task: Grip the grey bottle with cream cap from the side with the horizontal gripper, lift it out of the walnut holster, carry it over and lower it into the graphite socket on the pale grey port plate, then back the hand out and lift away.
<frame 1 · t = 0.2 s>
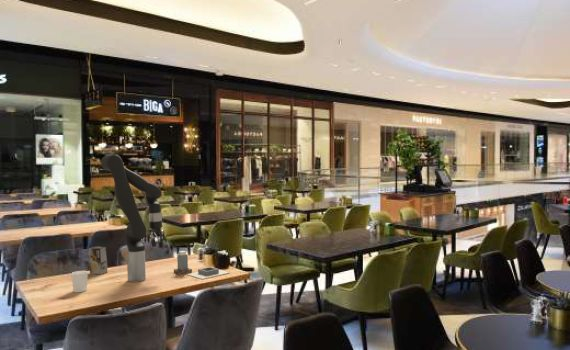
hand: (157, 246, 282), 17 cm above the table, tool pointing down, fingers open, 8 cm apart
white cup: (80, 291, 253), on the table
coffee box: (98, 273, 294), on the table
port: (208, 274, 284), on the table
grey bottle: (182, 262, 290), in the holster
holster: (182, 272, 290), on the table
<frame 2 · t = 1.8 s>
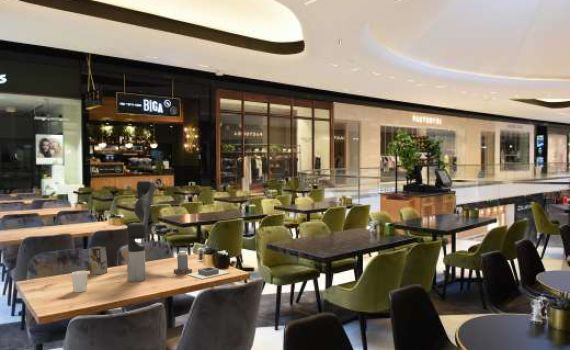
hand: (172, 232, 297), 24 cm above the table, tool horizontal, fingers open, 8 cm apart
nothing on the table moved.
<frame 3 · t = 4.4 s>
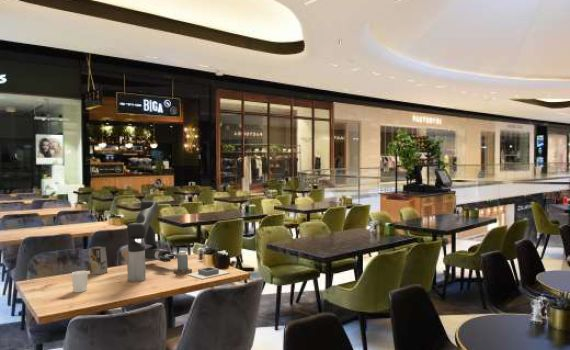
hand: (176, 258, 295), 8 cm above the table, tool horizontal, fingers open, 8 cm apart
nothing on the table moved.
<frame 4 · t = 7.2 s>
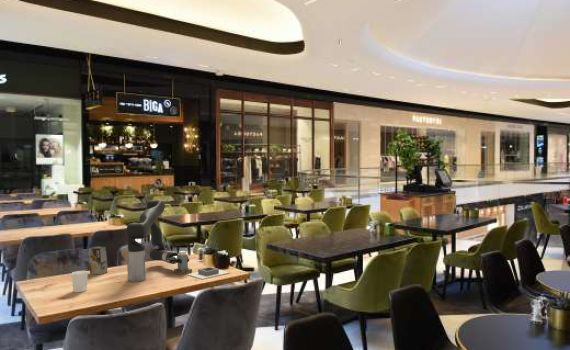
hand: (184, 260, 288), 8 cm above the table, tool horizontal, fingers closed on grey bottle, 4 cm apart
grey bottle: (182, 261, 290), in the holster, touching gripper
everything else where it was.
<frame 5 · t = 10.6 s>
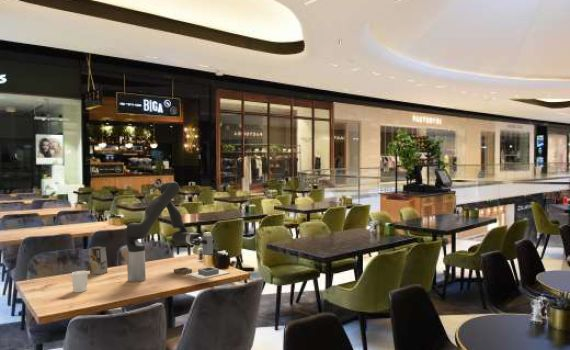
hand: (210, 241, 282), 20 cm above the table, tool horizontal, fingers closed on grey bottle, 4 cm apart
grey bottle: (207, 243, 284), point 19 cm above the table, touching gripper
everything else where it was.
when the fingers open (9 cm above the table, at t = 14.2 s): grey bottle drops 1 cm, resting on port.
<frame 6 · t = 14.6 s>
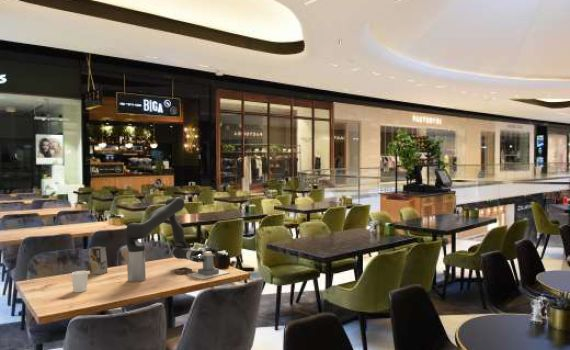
hand: (209, 258, 283), 10 cm above the table, tool horizontal, fingers open, 8 cm apart
grey bottle: (208, 262, 284), in the port
everything else where it was.
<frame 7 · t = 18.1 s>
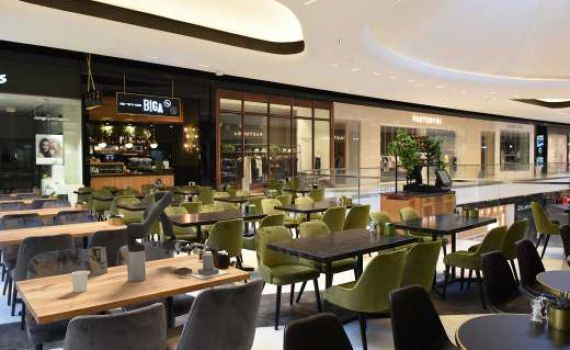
hand: (197, 248, 291), 14 cm above the table, tool horizontal, fingers open, 8 cm apart
nothing on the table moved.
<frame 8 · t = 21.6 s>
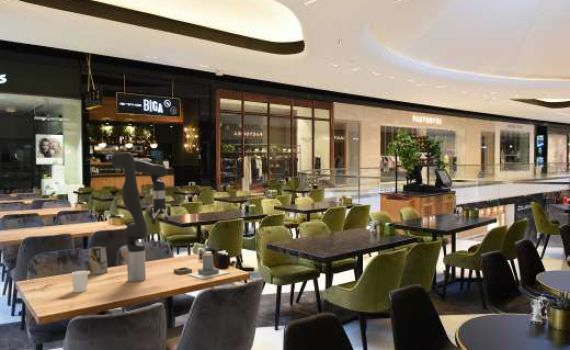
hand: (160, 223, 292), 30 cm above the table, tool pointing down, fingers open, 8 cm apart
nothing on the table moved.
at the end: grey bottle 0.1 cm off-centre on the port, point 7.0 cm above the port's base; grey bottle tilted 0°; the gripper is holding nothing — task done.
